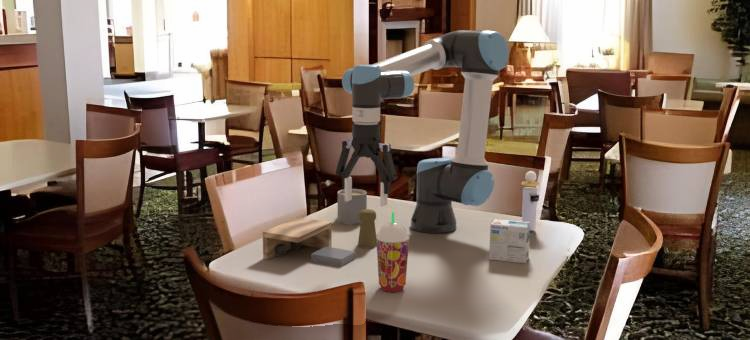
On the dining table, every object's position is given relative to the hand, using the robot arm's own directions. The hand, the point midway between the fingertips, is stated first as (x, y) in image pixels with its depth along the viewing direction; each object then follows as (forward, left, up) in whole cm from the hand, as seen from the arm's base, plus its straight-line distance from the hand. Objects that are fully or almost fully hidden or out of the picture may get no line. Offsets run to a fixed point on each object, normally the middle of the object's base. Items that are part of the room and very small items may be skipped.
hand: (365, 202), depth 198 cm
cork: (+8, -17, -18) cm, 26 cm away
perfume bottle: (-31, -56, -18) cm, 66 cm away
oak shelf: (+22, 0, -18) cm, 29 cm away
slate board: (+10, 0, -18) cm, 21 cm away
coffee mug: (+27, -41, -18) cm, 52 cm away
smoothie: (-15, +13, -18) cm, 27 cm away
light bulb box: (-34, -25, -18) cm, 46 cm away
